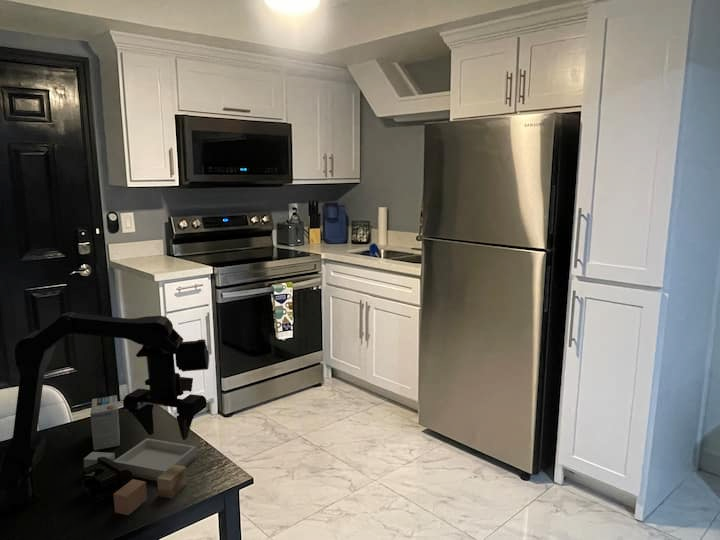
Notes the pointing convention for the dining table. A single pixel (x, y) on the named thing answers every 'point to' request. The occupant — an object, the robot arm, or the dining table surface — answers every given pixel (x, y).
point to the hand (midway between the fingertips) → (168, 436)
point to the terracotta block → (130, 497)
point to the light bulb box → (105, 422)
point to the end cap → (105, 479)
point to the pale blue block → (93, 459)
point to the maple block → (172, 481)
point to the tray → (156, 458)
